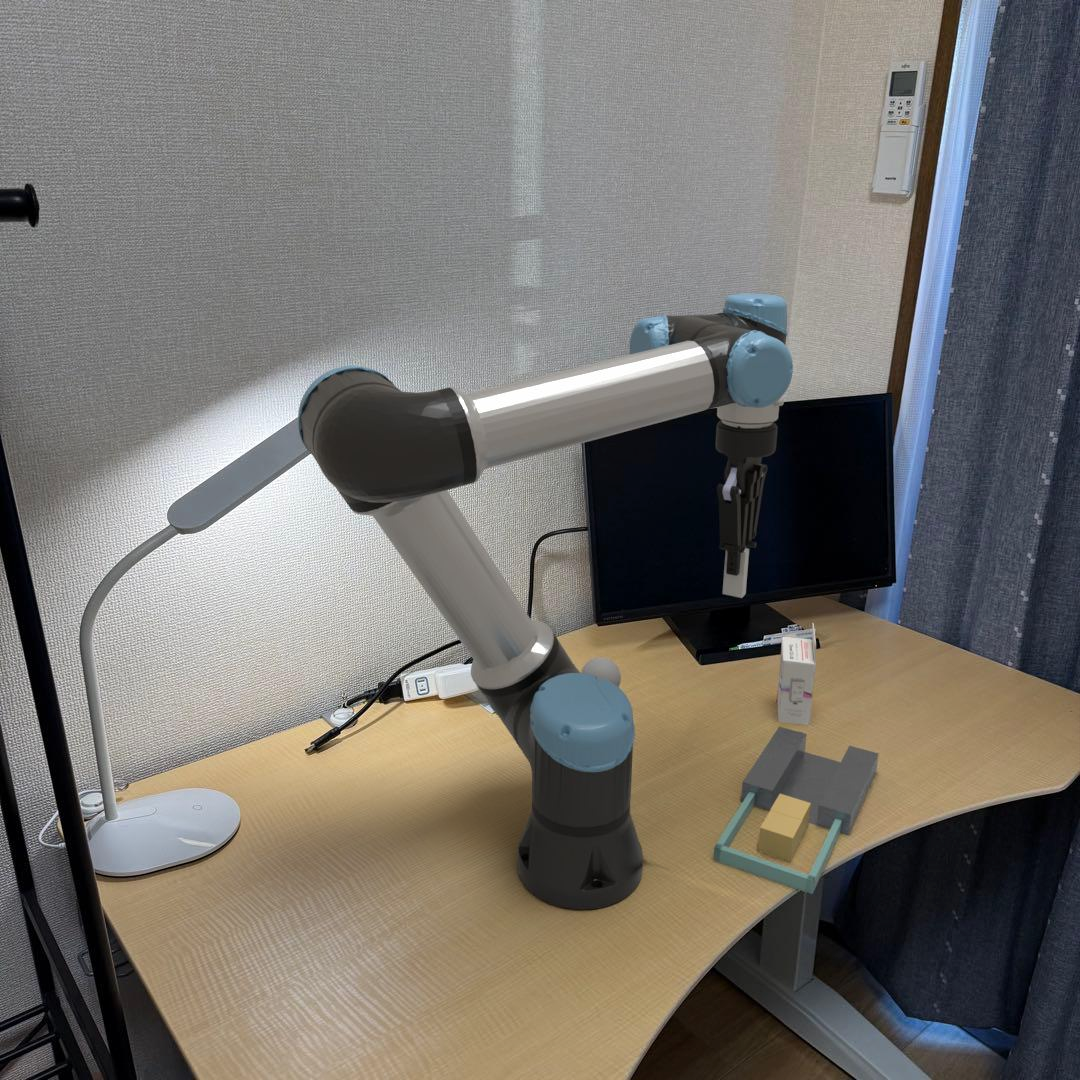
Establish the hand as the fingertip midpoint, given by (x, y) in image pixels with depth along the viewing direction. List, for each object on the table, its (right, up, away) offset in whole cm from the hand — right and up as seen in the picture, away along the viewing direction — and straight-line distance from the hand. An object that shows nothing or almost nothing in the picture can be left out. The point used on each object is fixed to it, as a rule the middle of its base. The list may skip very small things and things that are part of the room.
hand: (734, 593), depth 128 cm
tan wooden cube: (+3, -31, -10) cm, 33 cm away
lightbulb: (-17, -21, +19) cm, 33 cm away
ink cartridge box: (+13, -21, +21) cm, 33 cm away
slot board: (+11, -27, +2) cm, 29 cm away
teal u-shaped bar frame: (+3, -32, -10) cm, 33 cm away
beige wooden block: (+5, -30, -7) cm, 31 cm away
